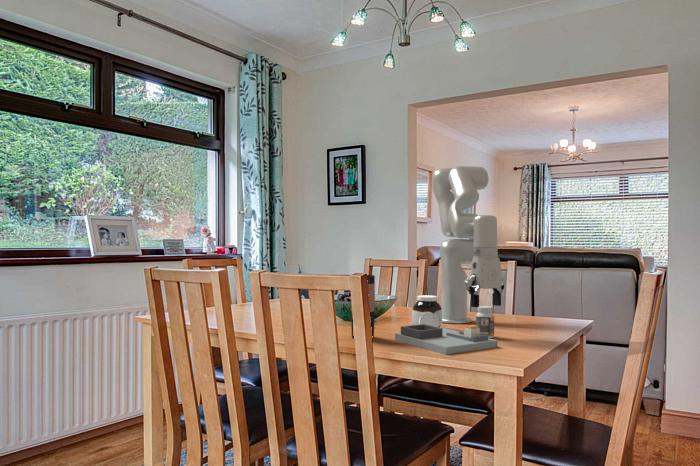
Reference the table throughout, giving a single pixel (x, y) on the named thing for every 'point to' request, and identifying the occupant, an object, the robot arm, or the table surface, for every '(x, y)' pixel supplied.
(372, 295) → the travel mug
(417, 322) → the spread jar
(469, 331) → the toggle
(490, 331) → the pill bottle
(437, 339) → the panel
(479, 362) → the table surface
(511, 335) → the table surface
